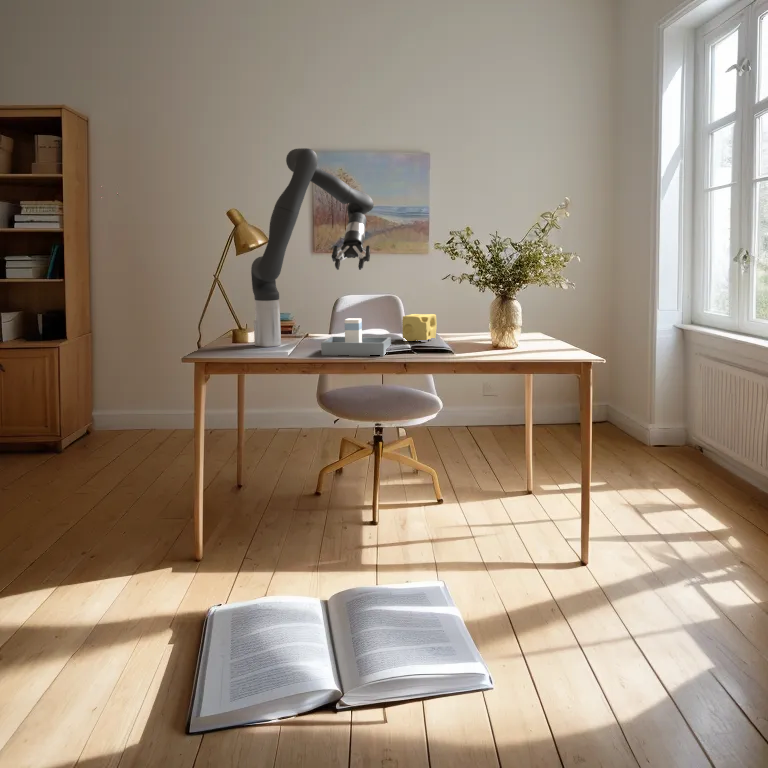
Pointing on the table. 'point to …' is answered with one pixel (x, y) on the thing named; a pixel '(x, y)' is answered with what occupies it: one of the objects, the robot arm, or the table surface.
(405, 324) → the cheese
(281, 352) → the table surface
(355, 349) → the tray
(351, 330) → the milk carton
